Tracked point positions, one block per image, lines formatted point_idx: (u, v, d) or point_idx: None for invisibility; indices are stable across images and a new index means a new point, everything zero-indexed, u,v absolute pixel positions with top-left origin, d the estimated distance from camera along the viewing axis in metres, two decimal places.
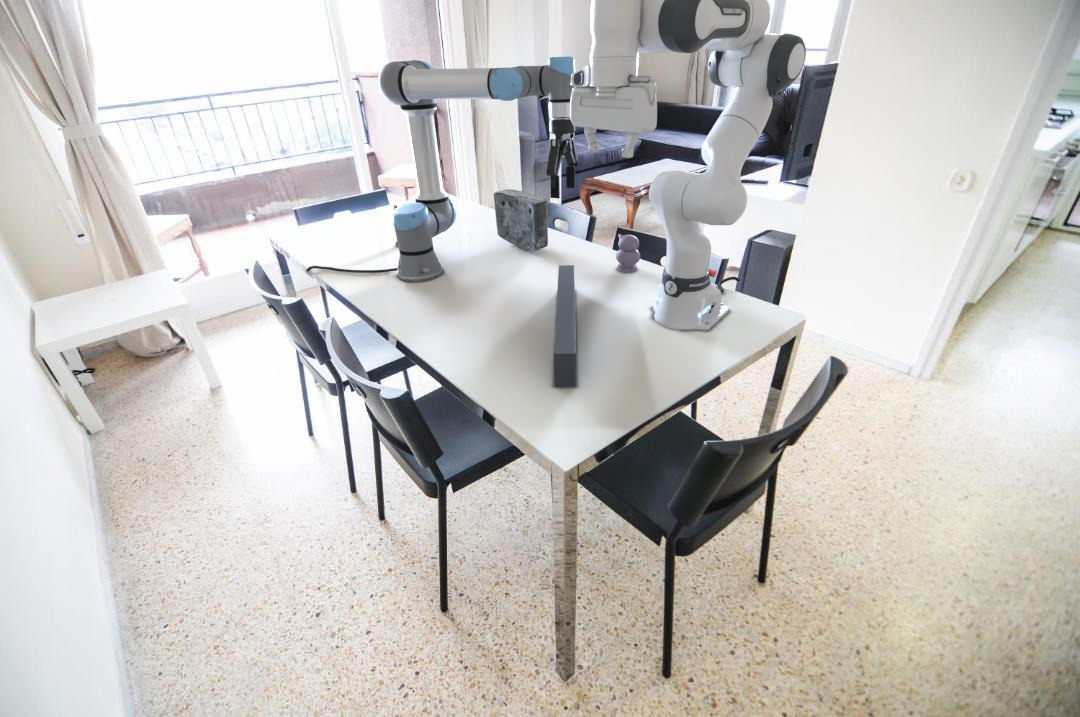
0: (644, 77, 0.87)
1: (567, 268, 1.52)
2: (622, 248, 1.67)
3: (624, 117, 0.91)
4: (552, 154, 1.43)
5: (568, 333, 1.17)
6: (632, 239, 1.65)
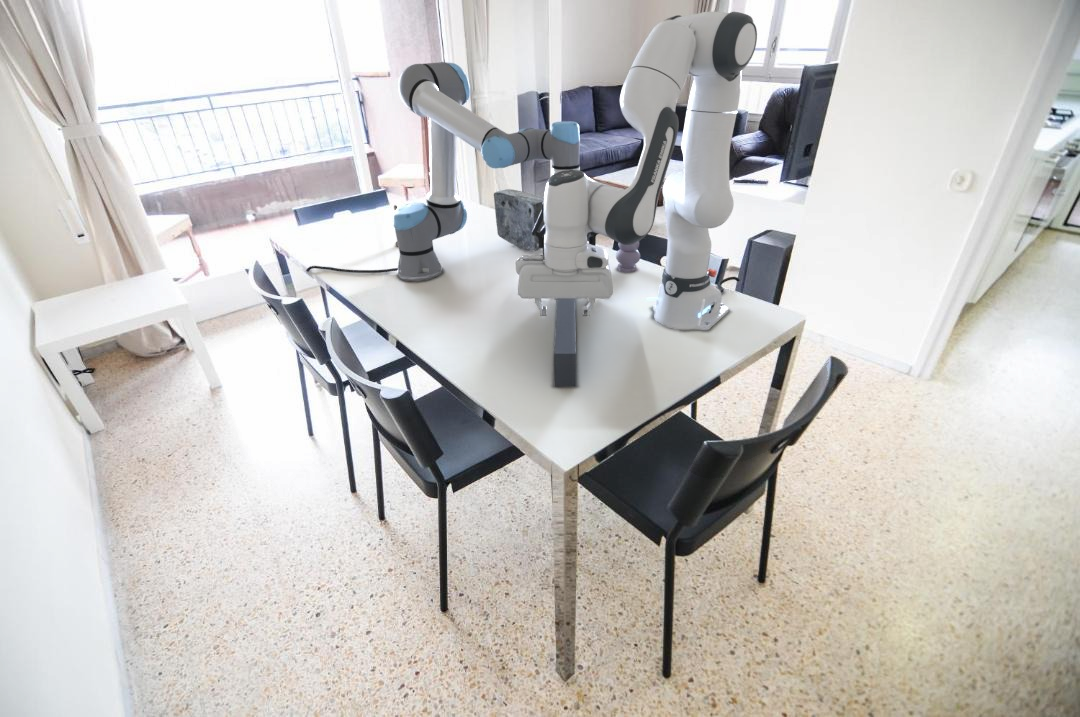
0: None
1: None
2: (622, 248, 1.67)
3: None
4: (539, 216, 1.42)
5: (568, 333, 1.17)
6: None
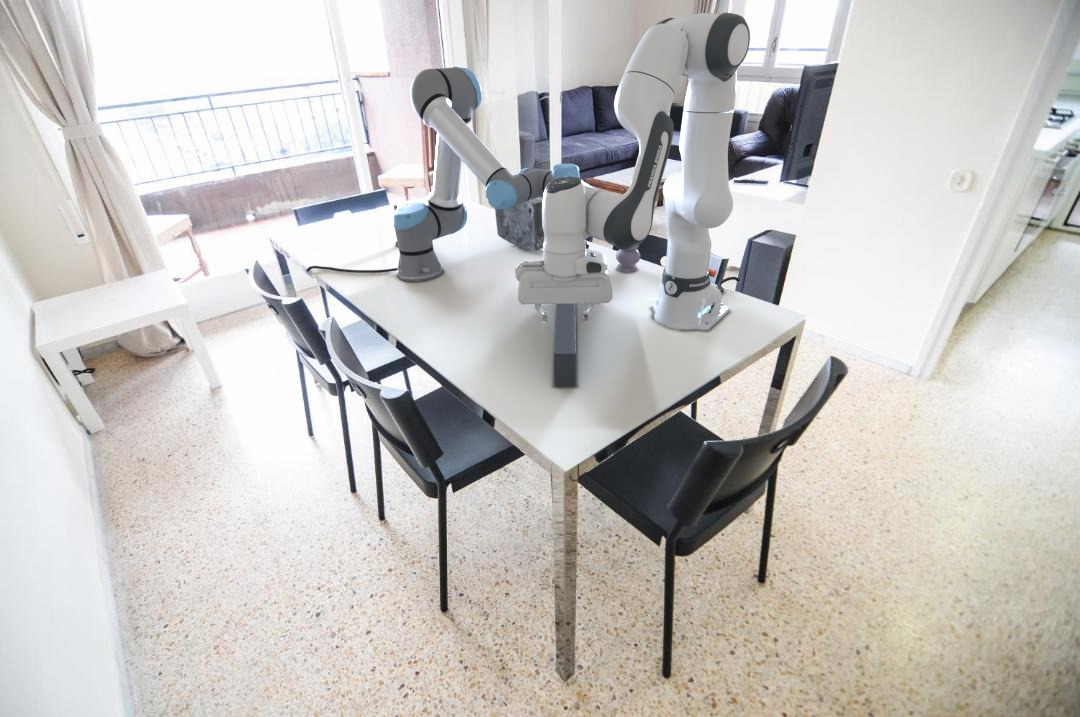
0: None
1: None
2: None
3: None
4: None
5: (568, 333, 1.17)
6: None
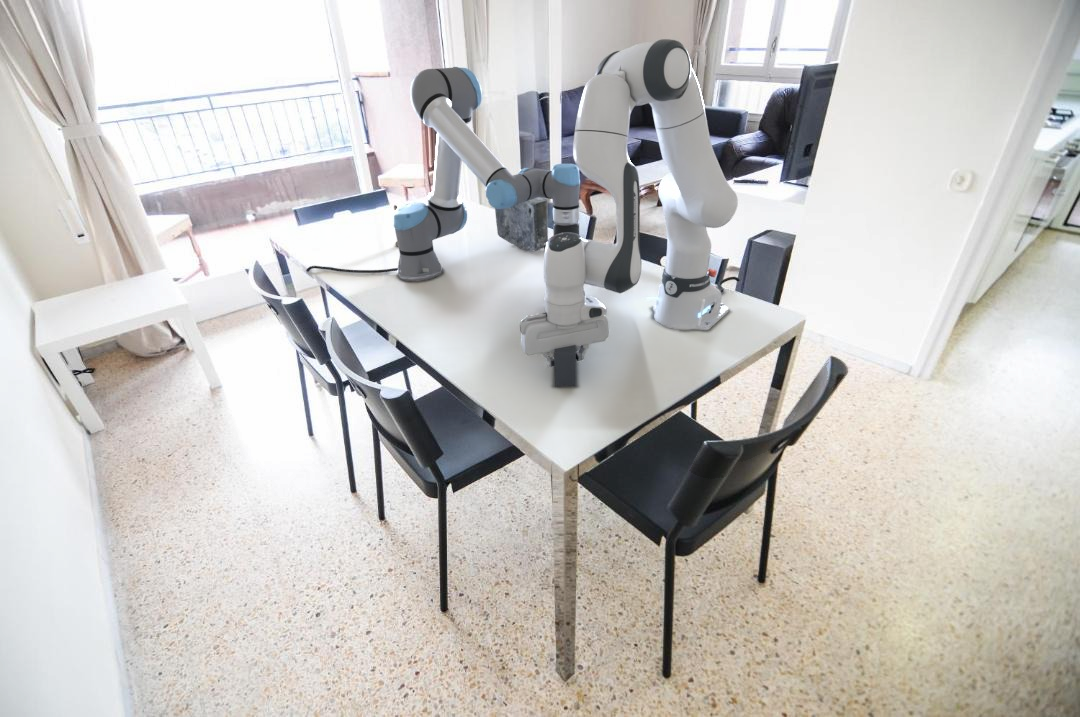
0: None
1: None
2: None
3: None
4: None
5: None
6: None
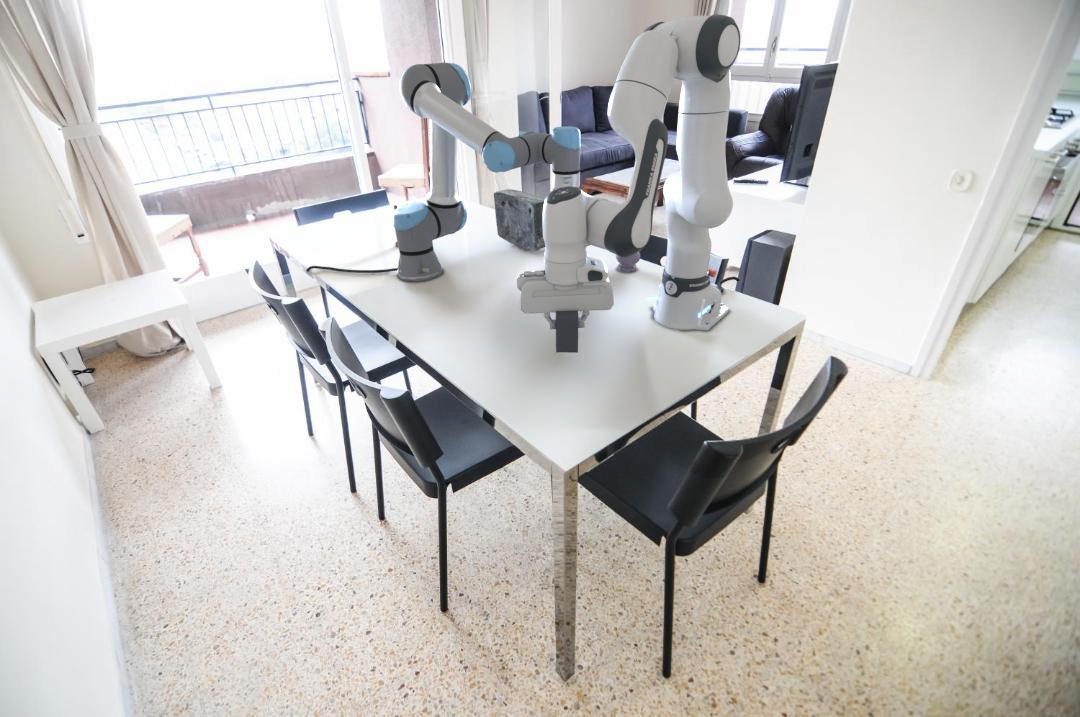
0: None
1: None
2: None
3: None
4: None
5: None
6: None
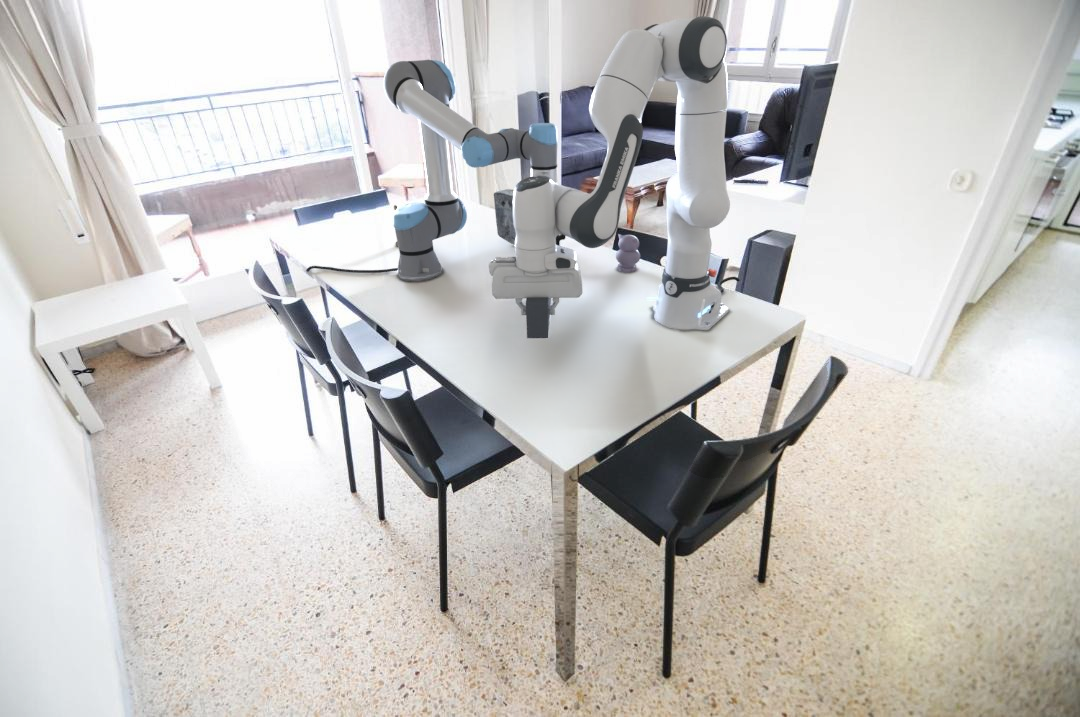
0: None
1: None
2: (622, 248, 1.67)
3: None
4: None
5: None
6: (632, 239, 1.65)
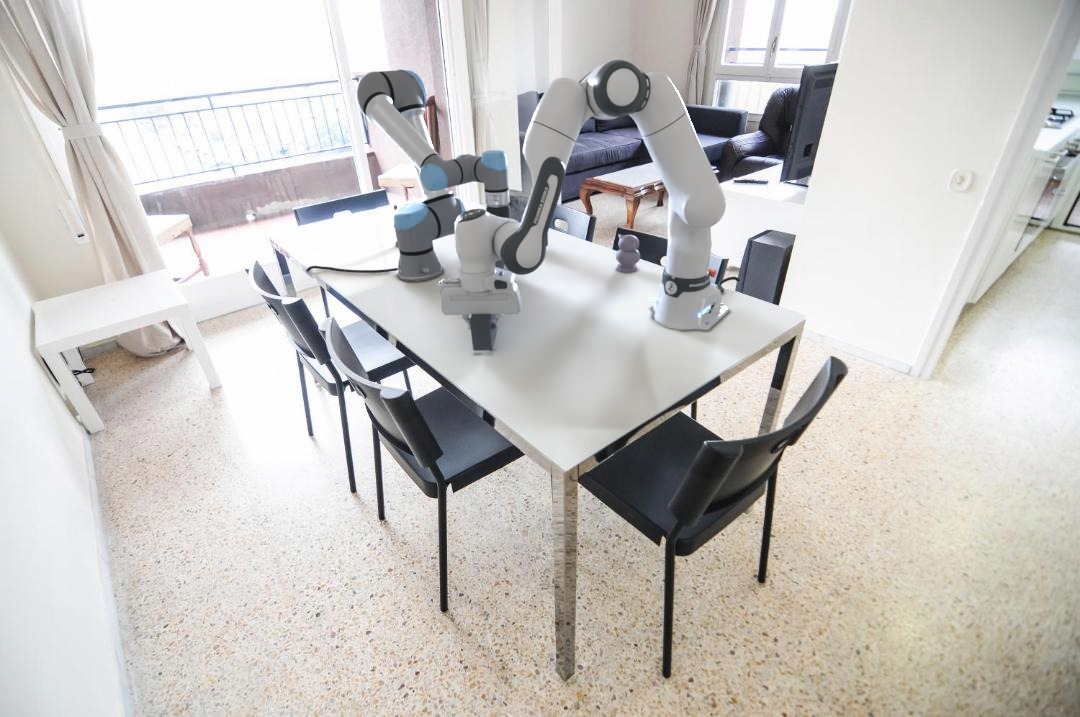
0: (446, 279, 1.22)
1: None
2: (622, 248, 1.67)
3: None
4: None
5: None
6: (632, 239, 1.65)
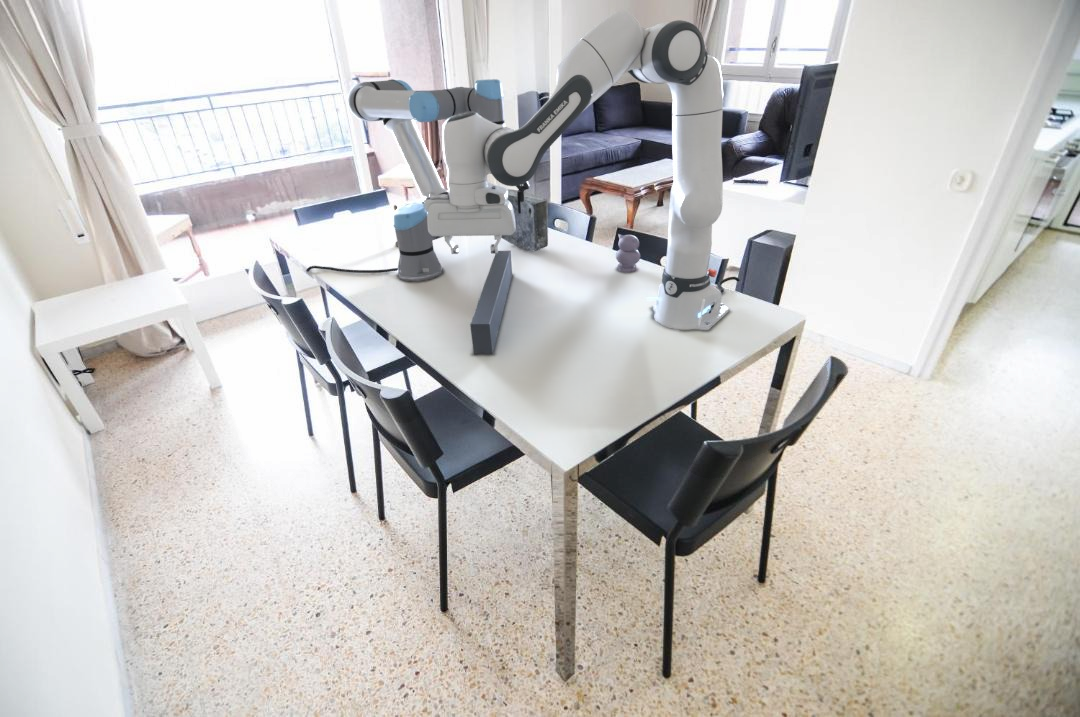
0: None
1: (503, 253, 1.66)
2: (622, 248, 1.67)
3: None
4: None
5: (487, 307, 1.30)
6: (632, 239, 1.65)
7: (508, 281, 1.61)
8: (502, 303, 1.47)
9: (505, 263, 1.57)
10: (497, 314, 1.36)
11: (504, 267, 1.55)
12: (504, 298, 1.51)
